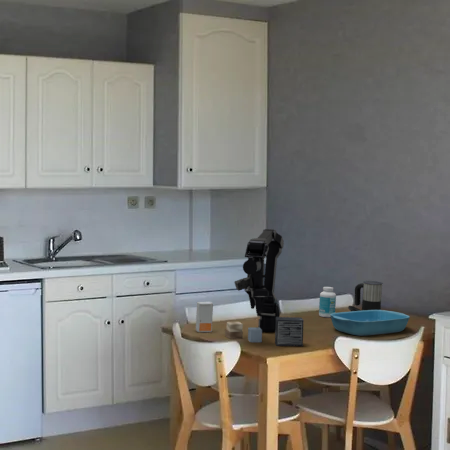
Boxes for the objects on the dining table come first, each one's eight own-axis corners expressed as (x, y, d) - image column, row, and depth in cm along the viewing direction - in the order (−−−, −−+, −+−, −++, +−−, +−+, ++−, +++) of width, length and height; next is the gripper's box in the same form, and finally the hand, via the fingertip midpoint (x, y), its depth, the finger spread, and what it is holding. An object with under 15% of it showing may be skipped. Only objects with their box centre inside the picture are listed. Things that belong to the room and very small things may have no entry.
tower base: (237, 336, 361) (237, 328, 361) (242, 339, 356) (242, 331, 356) (224, 336, 359) (225, 329, 359) (229, 339, 354) (230, 332, 354)
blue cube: (258, 339, 355) (259, 327, 354) (261, 342, 350) (262, 329, 350) (247, 339, 354) (248, 327, 353) (250, 342, 349) (250, 329, 349)
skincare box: (198, 332, 364) (198, 303, 363) (195, 330, 368) (196, 301, 367) (212, 332, 366) (213, 303, 365) (209, 330, 370) (210, 301, 369)
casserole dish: (382, 322, 401) (382, 307, 400) (418, 332, 382) (419, 315, 382) (319, 329, 380) (320, 313, 379) (355, 340, 361) (356, 322, 361)
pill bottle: (331, 318, 405) (333, 289, 404) (316, 316, 408) (317, 287, 407) (337, 316, 412) (338, 287, 410) (322, 314, 415) (323, 285, 414)
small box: (301, 343, 351) (302, 316, 350) (303, 346, 344) (304, 320, 343) (274, 342, 350) (275, 316, 350) (275, 346, 344) (277, 319, 343)
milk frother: (383, 312, 425) (384, 281, 424) (375, 317, 411) (377, 286, 410) (354, 309, 431) (355, 279, 429) (345, 314, 416) (347, 283, 415)
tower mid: (239, 329, 360) (239, 321, 360) (242, 331, 355) (242, 324, 355) (226, 329, 359) (226, 321, 359) (229, 331, 354) (230, 324, 354)
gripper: (231, 268, 357) (230, 306, 359) (241, 274, 339) (239, 315, 340) (258, 268, 359) (257, 306, 361) (269, 275, 341) (268, 315, 342)
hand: (255, 310), depth 351 cm, fingers open, 9 cm apart
